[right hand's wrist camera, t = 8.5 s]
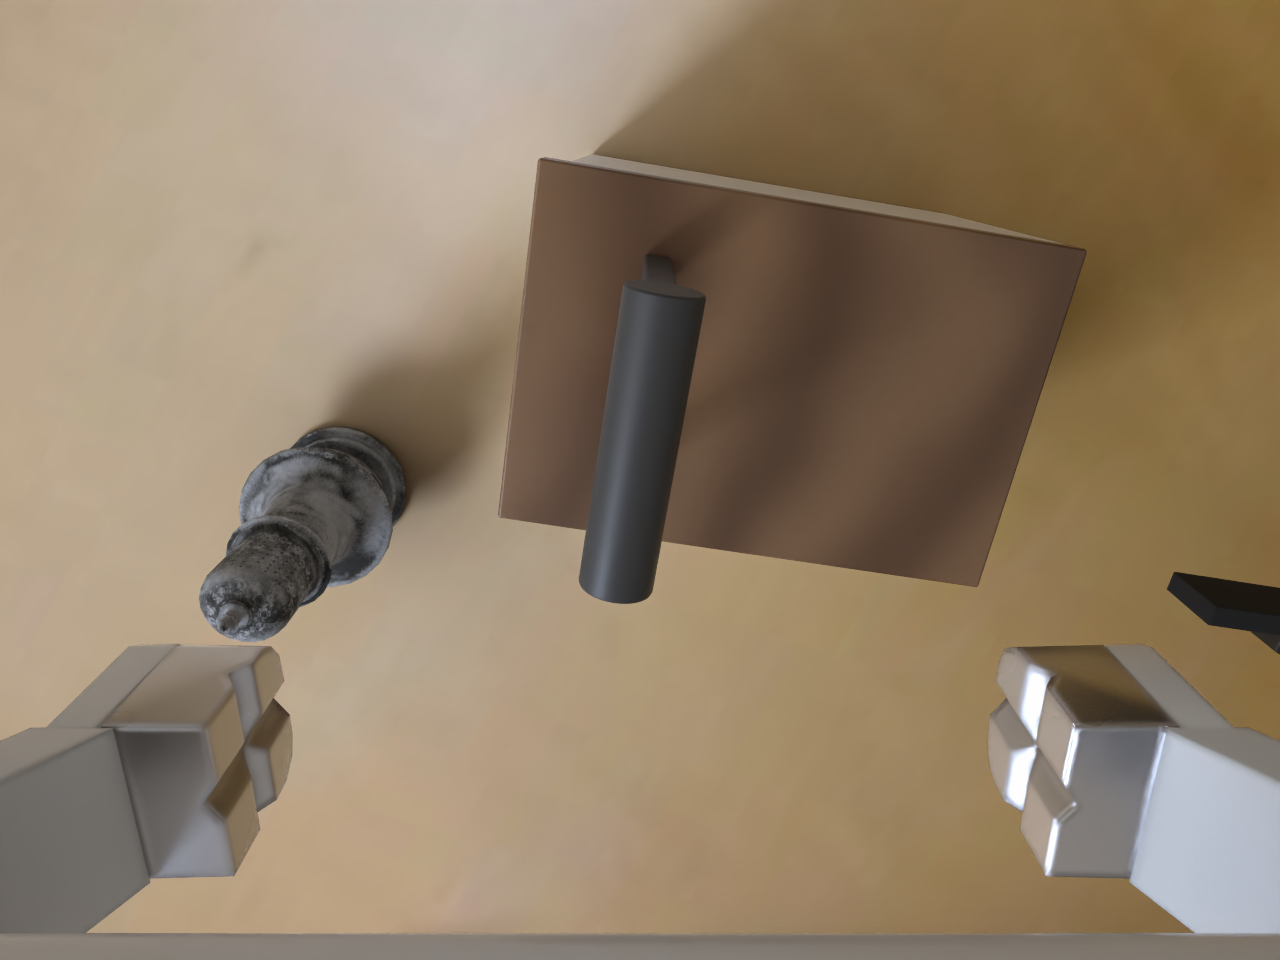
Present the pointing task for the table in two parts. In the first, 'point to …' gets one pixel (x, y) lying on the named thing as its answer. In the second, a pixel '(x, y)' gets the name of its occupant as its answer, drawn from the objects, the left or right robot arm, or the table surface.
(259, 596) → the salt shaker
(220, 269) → the table surface
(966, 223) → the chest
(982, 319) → the lid
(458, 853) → the table surface
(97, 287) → the table surface
